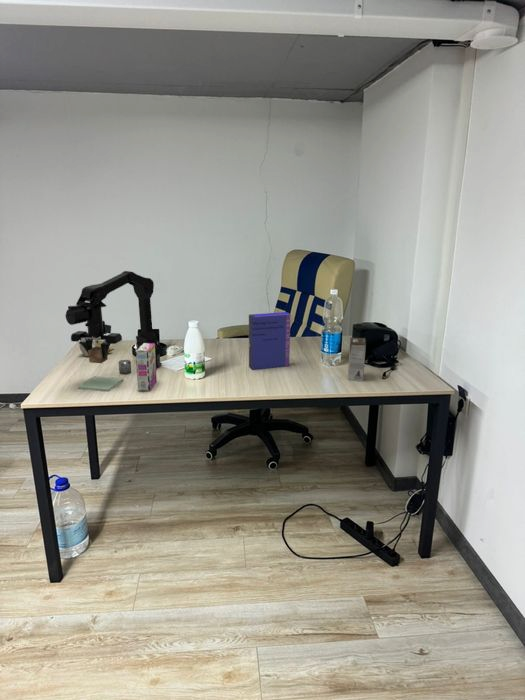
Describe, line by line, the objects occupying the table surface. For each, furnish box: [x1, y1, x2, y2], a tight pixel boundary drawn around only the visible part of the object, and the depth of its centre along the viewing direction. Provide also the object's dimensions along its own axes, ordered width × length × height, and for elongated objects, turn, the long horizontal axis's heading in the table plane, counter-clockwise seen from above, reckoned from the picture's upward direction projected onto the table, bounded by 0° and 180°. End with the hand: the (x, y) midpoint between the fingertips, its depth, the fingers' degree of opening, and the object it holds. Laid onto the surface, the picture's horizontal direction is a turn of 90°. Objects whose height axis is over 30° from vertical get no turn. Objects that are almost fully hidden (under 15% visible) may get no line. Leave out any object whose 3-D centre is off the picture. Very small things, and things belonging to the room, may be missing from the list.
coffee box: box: [347, 337, 367, 382], centre depth 195 cm, size 9×6×16 cm
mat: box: [77, 376, 124, 392], centre depth 188 cm, size 13×12×1 cm
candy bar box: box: [135, 343, 158, 392], centre depth 184 cm, size 11×5×16 cm, turn 178°
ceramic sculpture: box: [78, 339, 115, 358], centre depth 225 cm, size 11×9×15 cm
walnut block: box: [88, 347, 109, 364], centre depth 185 cm, size 5×5×5 cm
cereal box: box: [248, 311, 291, 371], centre depth 207 cm, size 17×5×24 cm, turn 108°
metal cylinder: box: [118, 359, 133, 376], centre depth 201 cm, size 5×5×5 cm
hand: (98, 358), depth 185 cm, fingers closed on walnut block, 5 cm apart
